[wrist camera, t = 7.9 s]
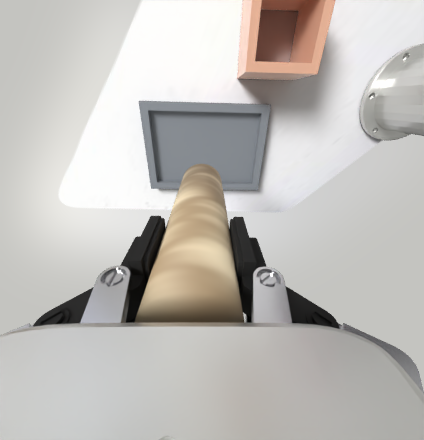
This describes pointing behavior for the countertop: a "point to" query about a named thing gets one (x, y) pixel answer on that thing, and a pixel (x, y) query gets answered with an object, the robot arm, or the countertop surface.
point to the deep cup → (302, 43)
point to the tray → (204, 141)
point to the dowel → (194, 258)
